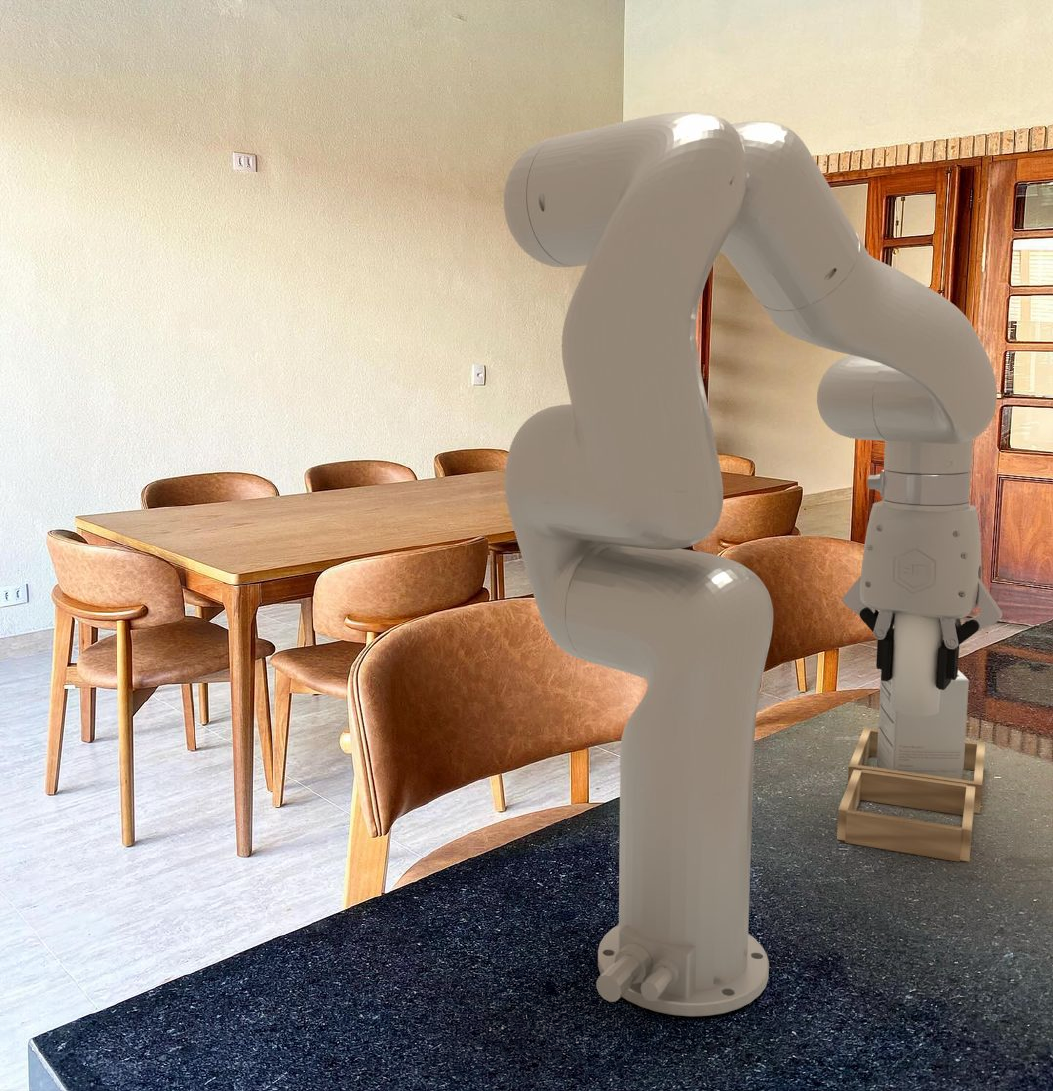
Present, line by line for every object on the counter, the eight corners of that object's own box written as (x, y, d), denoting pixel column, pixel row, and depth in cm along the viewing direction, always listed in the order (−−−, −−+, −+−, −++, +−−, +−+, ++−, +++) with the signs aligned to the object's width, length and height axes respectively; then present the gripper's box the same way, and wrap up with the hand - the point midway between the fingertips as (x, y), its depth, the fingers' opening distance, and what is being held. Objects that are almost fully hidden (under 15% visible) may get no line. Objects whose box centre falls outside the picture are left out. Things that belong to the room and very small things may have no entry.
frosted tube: (934, 719, 100) (941, 592, 98) (883, 711, 102) (889, 587, 100) (945, 705, 104) (952, 583, 102) (896, 697, 106) (902, 577, 104)
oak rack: (976, 864, 97) (978, 833, 97) (829, 840, 102) (831, 810, 102) (983, 769, 119) (985, 743, 119) (862, 752, 124) (864, 727, 124)
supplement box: (943, 769, 119) (950, 658, 117) (963, 796, 112) (971, 678, 110) (874, 767, 120) (880, 657, 118) (889, 794, 113) (896, 677, 111)
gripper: (822, 489, 101) (815, 678, 104) (1018, 501, 92) (1004, 707, 95) (846, 480, 107) (839, 659, 110) (1032, 490, 98) (1019, 685, 101)
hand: (916, 679), depth 102 cm, fingers closed on frosted tube, 4 cm apart
